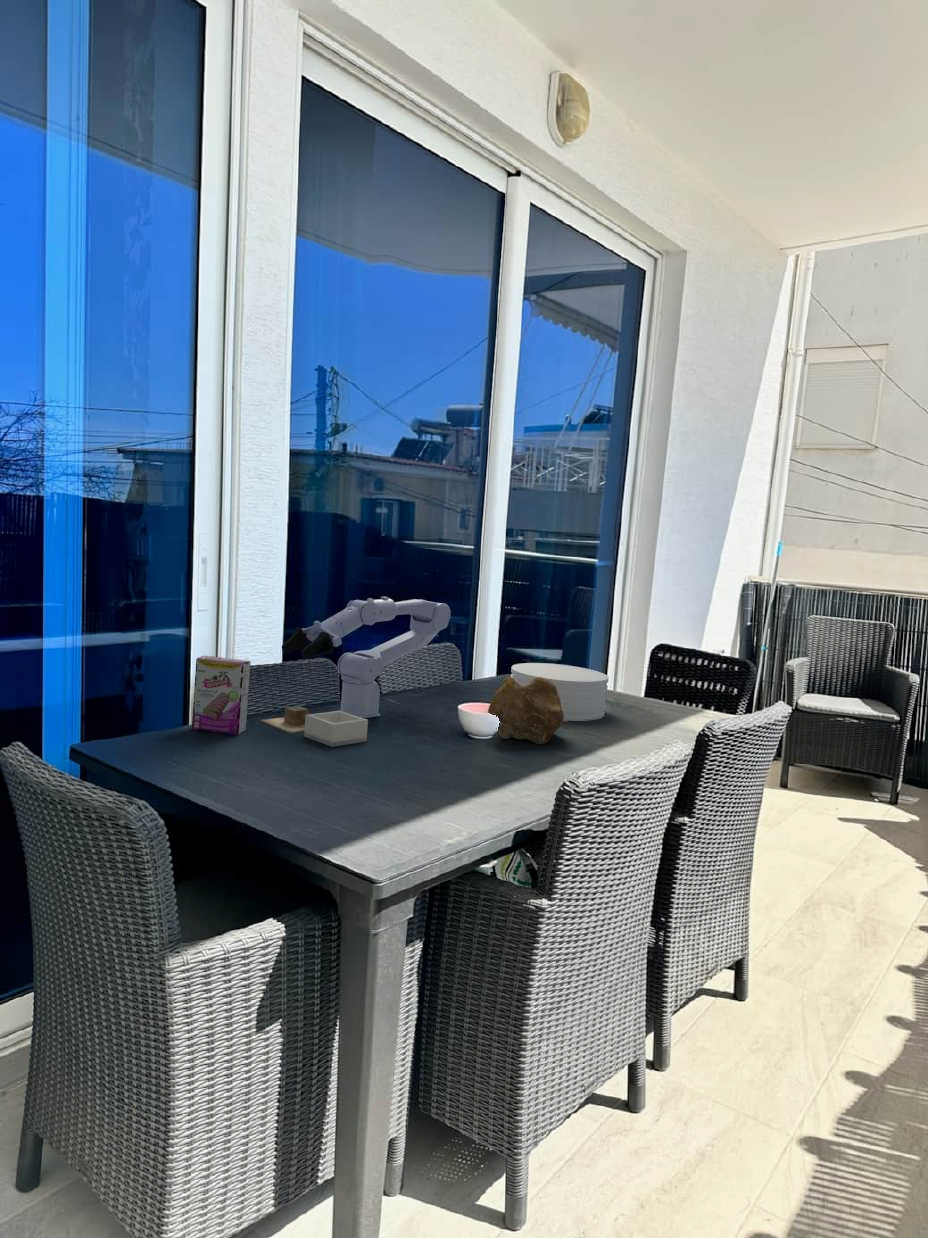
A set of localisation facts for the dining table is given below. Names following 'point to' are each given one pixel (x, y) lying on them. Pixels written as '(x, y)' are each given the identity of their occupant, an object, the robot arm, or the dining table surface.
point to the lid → (290, 720)
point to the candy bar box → (221, 694)
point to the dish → (336, 728)
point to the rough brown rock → (527, 710)
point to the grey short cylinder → (569, 687)
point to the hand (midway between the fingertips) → (292, 652)
